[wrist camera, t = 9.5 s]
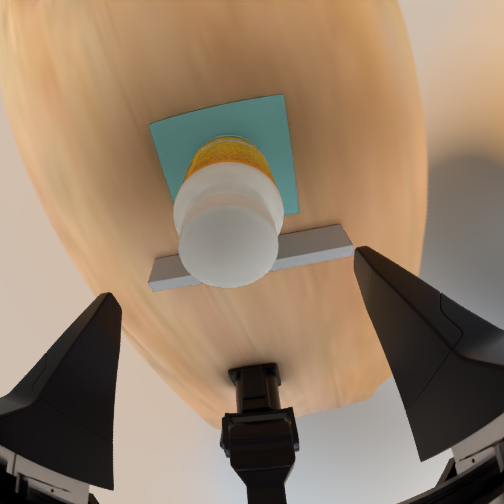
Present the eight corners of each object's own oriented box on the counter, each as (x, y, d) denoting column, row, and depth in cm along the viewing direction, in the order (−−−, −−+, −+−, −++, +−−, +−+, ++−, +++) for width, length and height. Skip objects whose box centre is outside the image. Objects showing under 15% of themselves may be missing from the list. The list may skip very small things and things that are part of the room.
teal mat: (298, 210, 21) (299, 212, 21) (185, 231, 22) (184, 234, 22) (282, 94, 16) (283, 94, 16) (150, 123, 17) (148, 124, 16)
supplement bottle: (269, 200, 20) (294, 294, 13) (196, 208, 20) (178, 305, 13) (265, 129, 17) (297, 183, 9) (184, 138, 17) (145, 200, 9)
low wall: (340, 233, 23) (352, 255, 21) (159, 267, 24) (152, 291, 21) (340, 224, 22) (353, 245, 20) (155, 259, 23) (147, 282, 21)
